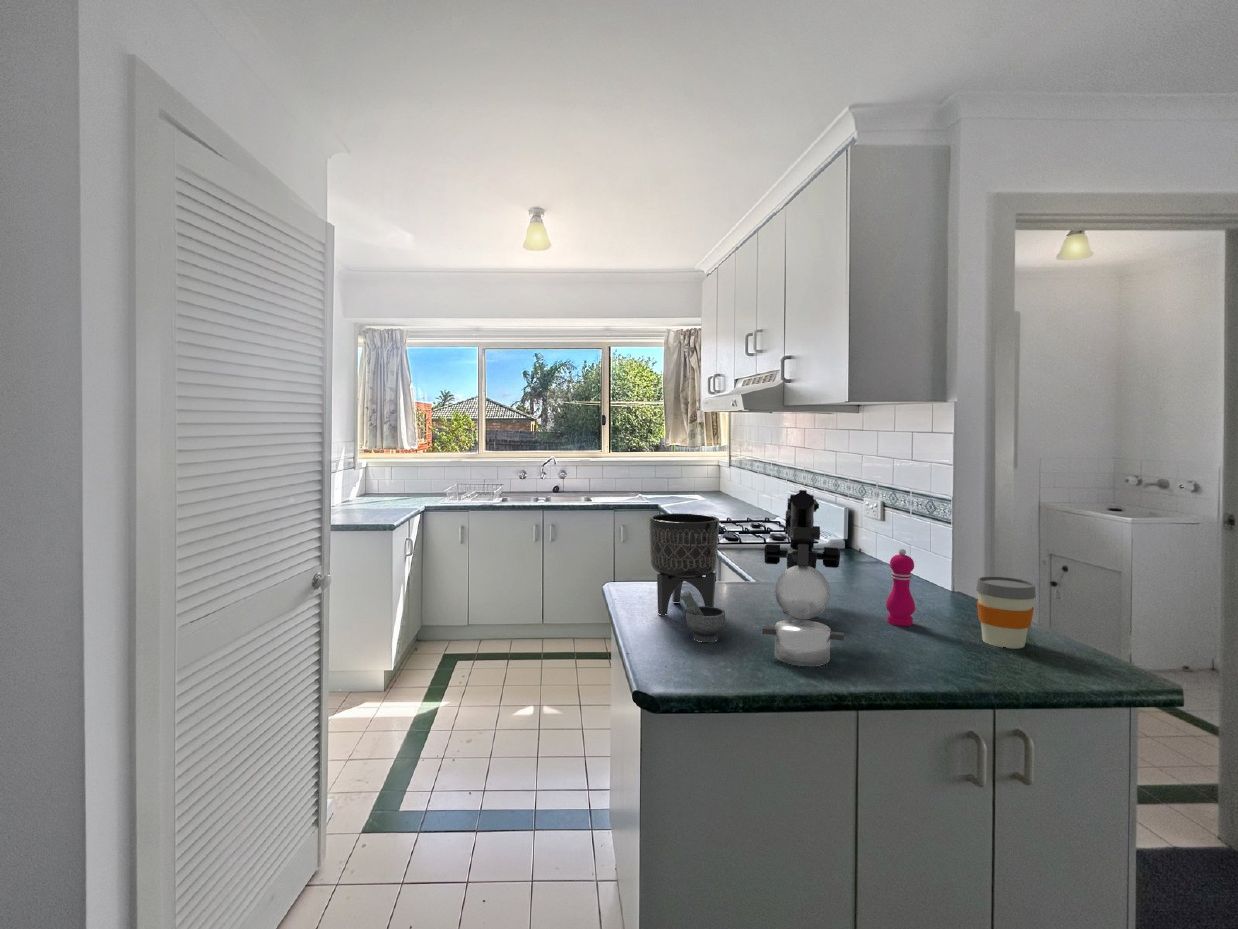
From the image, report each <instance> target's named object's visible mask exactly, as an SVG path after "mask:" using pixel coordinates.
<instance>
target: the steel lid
mask: <svg viewBox="0 0 1238 929" xmlns="http://www.w3.org/2000/svg"><path fill="white" fill-rule="evenodd" d="M808 546H809V545H808V544H798V566H793V567H791V568H788V569H787V568H786V569H784V570H783V572H782V573H781V574H780V575H779V576H778V579H777V581H776V584H775V588H774V594H775V599H776V602H777V603H778V605H779V607H780V609H781V610H782V612H783V611H784V612H783V613H786V614H787V615H788V616H790V617H792V618H795V619H799V620H810V619H814V618H816V617H818V616H820V615H821V614H822V613H823V612H824V611H825V610H826V609H827V607H828V605H829V602H830V601H831V600H830V599H831V588H830V585H829V582H828V580H827V579H826V577H825V575H824V574H823V573H822V572H821V571H820V570H818V569H816V568H812V567H810V566H808Z"/></svg>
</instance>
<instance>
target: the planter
mask: <svg viewBox="0 0 1238 929" xmlns="http://www.w3.org/2000/svg"><path fill="white" fill-rule="evenodd" d="M648 520H649V524H648V525H649V551H650V552H649V553H650V566H651V569H652V570H653V571H654V572H656V573H657V575H656V581H657V582H656V589H657V592H656V593H657V614H658V613H659V614H661V615H665V614H667V615H668V611H669V610H668V609H669V603H670V600H671V598H672V601H673V602H680V603H681V600H682V599H681V595H682V588H683V583H684V582H685V583H689V584H690V585H692V586H693V587H694V588H696V589H697V591H698V592H699V593H700V595H701V597H702V599H703V604H704V606H708V607H715V592H716V591H715V590H716V580H717V579H716V578H717V576H716V575H717V573H716V572H715V571H716V569H717V565H718V564H717V562H718V561H717V560H718V550H719V548H718V546H719V535H720V534H719V532H720V519H719V518H718V517H717V516H713V515H708V514H701V513H700V514H699V513H683V512H682V513H680V512H679V513H678V512H677V513H673V512H672V513H661V514H653V515H651V516H649V518H648Z"/></svg>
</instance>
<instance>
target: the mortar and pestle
mask: <svg viewBox="0 0 1238 929" xmlns="http://www.w3.org/2000/svg"><path fill="white" fill-rule="evenodd" d="M680 600H682V601H683V602H684V605H685V607H686V609H685V610H686V612H685V620H686V625H687V627H688V629H689V630H690V631H691V633H693V634H692V640H693V639H695V640H698V641H702V642H714V641H715V640H718V634H719V633H721V631H722V630H723V629H724V627H725V621H726V611H725V610H724V609H721V608H719V607H716V606H714V607H708V606H705V605H702V606H699V605H698V604H697V602H696V600H695V598H693V594H692V592H691V591H689V590H688V591H684V592H682V593H681V599H680ZM714 643H715V642H714Z"/></svg>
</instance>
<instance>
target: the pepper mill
mask: <svg viewBox="0 0 1238 929" xmlns="http://www.w3.org/2000/svg"><path fill="white" fill-rule="evenodd" d="M889 566H890V569H891V570H892V572H891V578H892V580H893V582H892V583H893V584H892V589H891V591H890V592H889V593H890V594H889V595H888V597H887V599H886V603H885V608H886V610H887V611H888V614H887V618H886V619H887V623H888V624H890V625H893V626H898V627H899V626H900V627H910V626H912V625H913V624H914V618H913V617H912V615H913V614H914V613H915V611H916V605H915V604H916V603H915V600H914V599H913V596H912V594H911V591H910V589H911V588H910V583H911V580H912V576H913V574H912V571H913V570H914V569H915V562H914V559H913V558H912V557H911V556H910V555H907V551H906V549H904V548H901V549H899V550H898V554H895V555H893V556H891V558H890V561H889Z"/></svg>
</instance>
